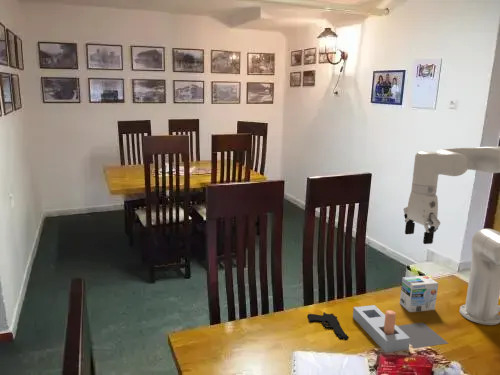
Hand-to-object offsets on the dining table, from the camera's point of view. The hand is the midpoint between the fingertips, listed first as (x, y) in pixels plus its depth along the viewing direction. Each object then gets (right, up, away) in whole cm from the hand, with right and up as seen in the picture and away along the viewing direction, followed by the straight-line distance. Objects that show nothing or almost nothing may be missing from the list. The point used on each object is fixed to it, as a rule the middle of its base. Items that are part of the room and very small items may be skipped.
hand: (418, 238), depth 132 cm
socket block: (-15, -30, -6) cm, 34 cm away
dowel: (-14, -31, -10) cm, 36 cm away
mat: (-3, -30, -7) cm, 31 cm away
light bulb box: (+4, -27, +11) cm, 29 cm away
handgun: (-32, -30, -2) cm, 43 cm away
